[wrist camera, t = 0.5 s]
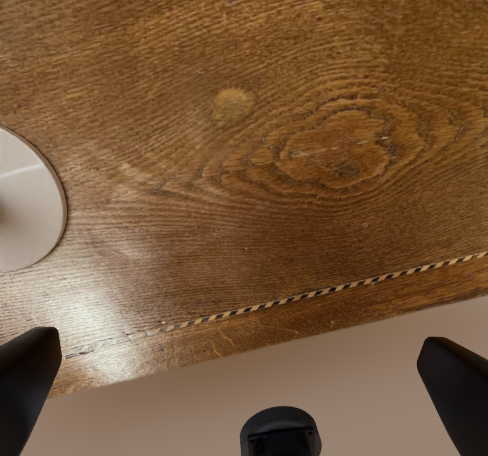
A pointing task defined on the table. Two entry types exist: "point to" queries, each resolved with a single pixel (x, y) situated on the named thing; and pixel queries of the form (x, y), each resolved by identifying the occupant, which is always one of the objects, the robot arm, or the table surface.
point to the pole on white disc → (27, 203)
